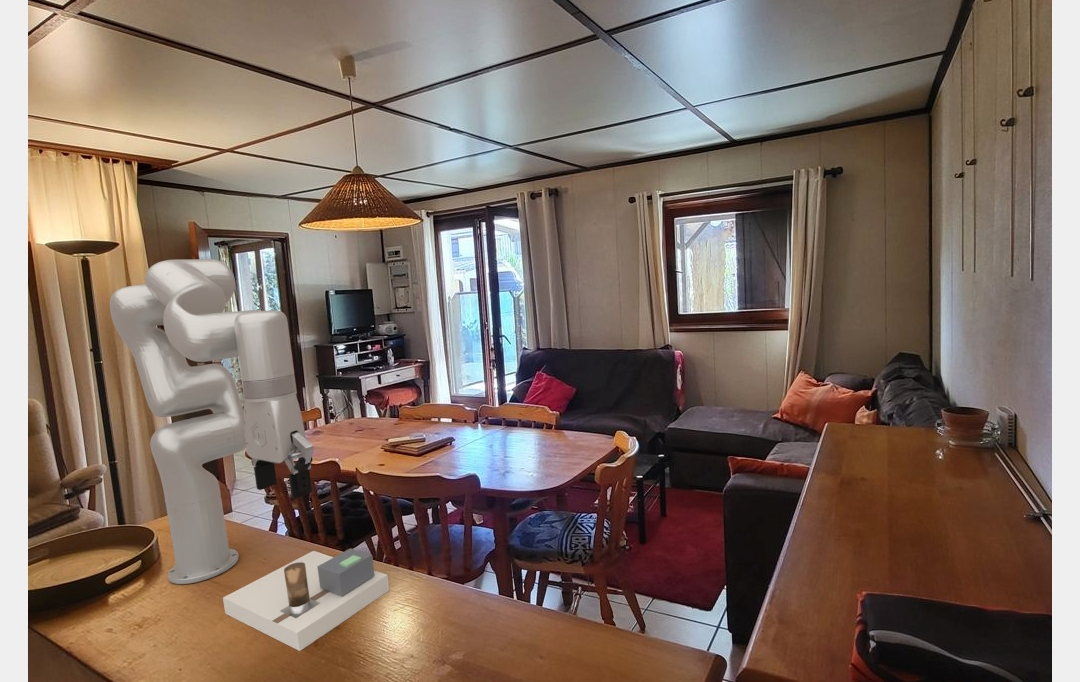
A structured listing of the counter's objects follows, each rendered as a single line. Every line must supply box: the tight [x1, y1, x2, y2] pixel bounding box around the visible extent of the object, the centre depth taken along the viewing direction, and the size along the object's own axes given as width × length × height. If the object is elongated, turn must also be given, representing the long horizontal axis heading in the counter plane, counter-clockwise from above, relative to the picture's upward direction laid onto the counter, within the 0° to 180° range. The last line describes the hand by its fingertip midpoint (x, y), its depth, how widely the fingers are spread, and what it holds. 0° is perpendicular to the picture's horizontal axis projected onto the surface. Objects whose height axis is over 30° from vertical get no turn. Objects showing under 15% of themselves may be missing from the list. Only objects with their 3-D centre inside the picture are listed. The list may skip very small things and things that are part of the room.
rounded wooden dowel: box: [284, 562, 311, 618], centre depth 89 cm, size 3×3×10 cm
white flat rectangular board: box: [222, 550, 390, 652], centre depth 96 cm, size 22×18×3 cm
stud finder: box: [317, 547, 375, 596], centre depth 96 cm, size 6×7×4 cm
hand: (284, 491), depth 88 cm, fingers open, 9 cm apart
